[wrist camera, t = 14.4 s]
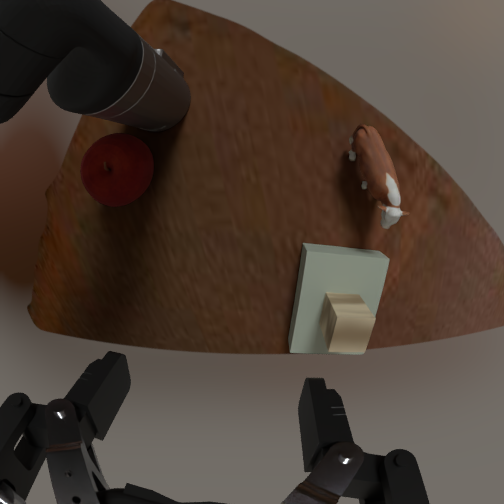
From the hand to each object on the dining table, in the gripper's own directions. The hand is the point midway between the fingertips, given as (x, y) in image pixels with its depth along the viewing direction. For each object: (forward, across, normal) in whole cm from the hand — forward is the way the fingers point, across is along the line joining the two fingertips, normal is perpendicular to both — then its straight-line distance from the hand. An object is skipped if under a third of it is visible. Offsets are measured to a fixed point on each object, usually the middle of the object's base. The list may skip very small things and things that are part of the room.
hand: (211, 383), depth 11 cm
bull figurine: (+30, -16, -10) cm, 36 cm away
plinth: (+30, -14, +9) cm, 34 cm away
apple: (+30, +17, -8) cm, 36 cm away
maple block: (+26, -14, +9) cm, 31 cm away
